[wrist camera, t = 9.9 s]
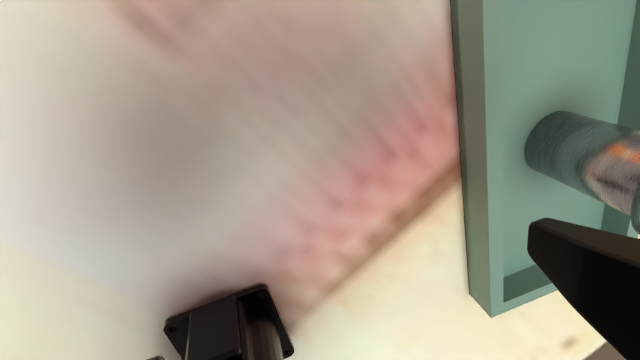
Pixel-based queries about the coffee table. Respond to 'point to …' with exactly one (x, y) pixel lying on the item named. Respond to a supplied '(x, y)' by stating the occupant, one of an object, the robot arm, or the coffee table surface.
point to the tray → (533, 124)
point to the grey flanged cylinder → (589, 158)
